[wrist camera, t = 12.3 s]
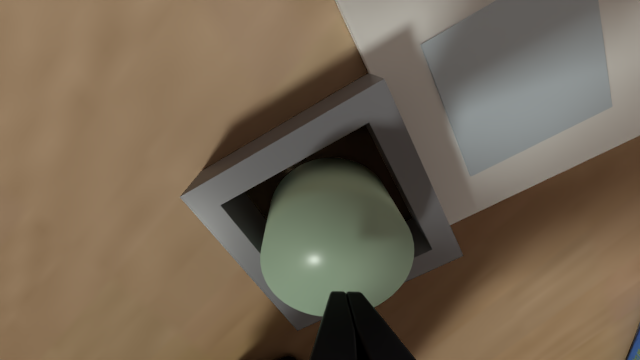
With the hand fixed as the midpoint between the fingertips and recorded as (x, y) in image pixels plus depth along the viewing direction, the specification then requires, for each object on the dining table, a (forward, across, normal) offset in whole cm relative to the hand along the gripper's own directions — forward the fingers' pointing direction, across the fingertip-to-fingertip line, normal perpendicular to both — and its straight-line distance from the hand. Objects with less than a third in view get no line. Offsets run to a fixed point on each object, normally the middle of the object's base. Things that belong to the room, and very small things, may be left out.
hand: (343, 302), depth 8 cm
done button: (+5, 0, 0) cm, 5 cm away
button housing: (+6, 0, 0) cm, 6 cm away
